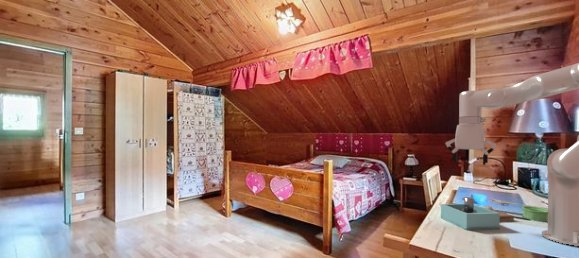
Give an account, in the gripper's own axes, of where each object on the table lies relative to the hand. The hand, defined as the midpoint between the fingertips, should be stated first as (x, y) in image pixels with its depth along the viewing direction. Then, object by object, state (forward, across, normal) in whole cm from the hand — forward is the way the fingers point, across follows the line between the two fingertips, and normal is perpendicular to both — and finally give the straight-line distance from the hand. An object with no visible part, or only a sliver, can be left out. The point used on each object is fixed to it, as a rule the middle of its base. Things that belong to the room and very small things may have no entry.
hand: (469, 163), depth 110 cm
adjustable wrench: (+25, -18, -48) cm, 57 cm away
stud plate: (+24, -6, -16) cm, 30 cm away
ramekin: (+25, -22, -27) cm, 43 cm away
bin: (+24, 0, 0) cm, 24 cm away
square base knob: (+23, 0, 0) cm, 23 cm away
